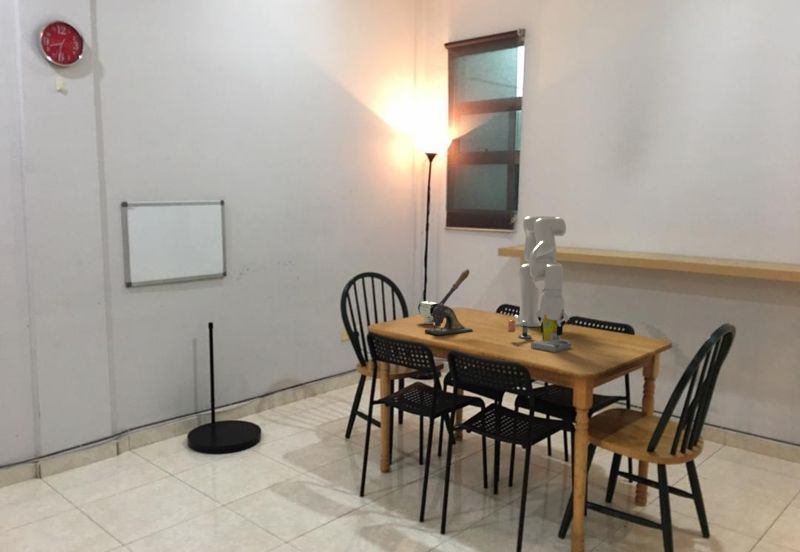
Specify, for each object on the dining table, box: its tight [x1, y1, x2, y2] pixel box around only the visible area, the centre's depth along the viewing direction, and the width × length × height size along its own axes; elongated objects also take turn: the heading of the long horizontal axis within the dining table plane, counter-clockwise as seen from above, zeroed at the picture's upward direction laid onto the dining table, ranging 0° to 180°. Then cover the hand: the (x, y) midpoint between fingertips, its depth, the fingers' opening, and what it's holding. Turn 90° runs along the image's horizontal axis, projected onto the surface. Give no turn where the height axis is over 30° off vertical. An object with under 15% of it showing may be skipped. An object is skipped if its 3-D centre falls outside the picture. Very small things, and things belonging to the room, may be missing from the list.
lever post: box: [517, 326, 532, 340], centre depth 305 cm, size 6×6×6 cm
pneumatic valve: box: [417, 300, 439, 325], centre depth 335 cm, size 6×12×12 cm, turn 42°
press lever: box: [507, 319, 530, 333], centre depth 300 cm, size 4×15×5 cm, turn 136°
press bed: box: [530, 338, 572, 354], centre depth 284 cm, size 12×13×3 cm
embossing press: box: [424, 268, 474, 336], centre depth 314 cm, size 11×24×30 cm, turn 123°
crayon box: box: [541, 315, 562, 342], centre depth 283 cm, size 7×3×12 cm, turn 89°
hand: (551, 333), depth 283 cm, fingers closed on crayon box, 7 cm apart
